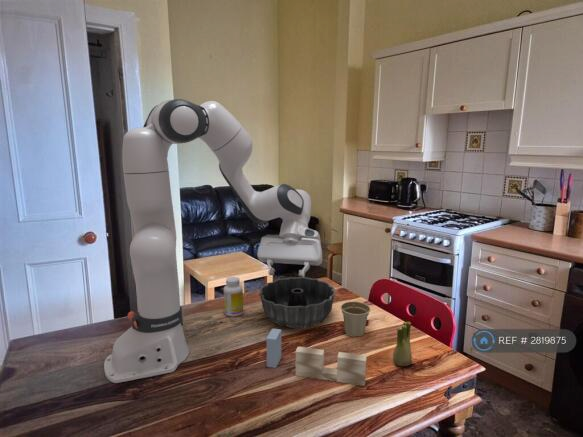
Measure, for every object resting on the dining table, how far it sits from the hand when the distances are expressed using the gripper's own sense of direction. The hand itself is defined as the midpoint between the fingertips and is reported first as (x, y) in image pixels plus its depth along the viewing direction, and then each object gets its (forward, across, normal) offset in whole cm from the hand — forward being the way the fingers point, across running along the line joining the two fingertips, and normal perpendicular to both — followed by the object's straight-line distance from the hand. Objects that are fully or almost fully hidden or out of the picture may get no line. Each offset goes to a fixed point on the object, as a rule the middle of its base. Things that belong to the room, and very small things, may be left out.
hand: (286, 275), depth 113 cm
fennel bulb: (+19, +34, +12) cm, 41 cm away
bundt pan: (+4, 0, +26) cm, 26 cm away
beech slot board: (+26, +16, +3) cm, 31 cm away
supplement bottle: (+6, -23, +24) cm, 34 cm away
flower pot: (+9, +20, +22) cm, 31 cm away
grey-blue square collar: (+24, 0, +6) cm, 24 cm away
